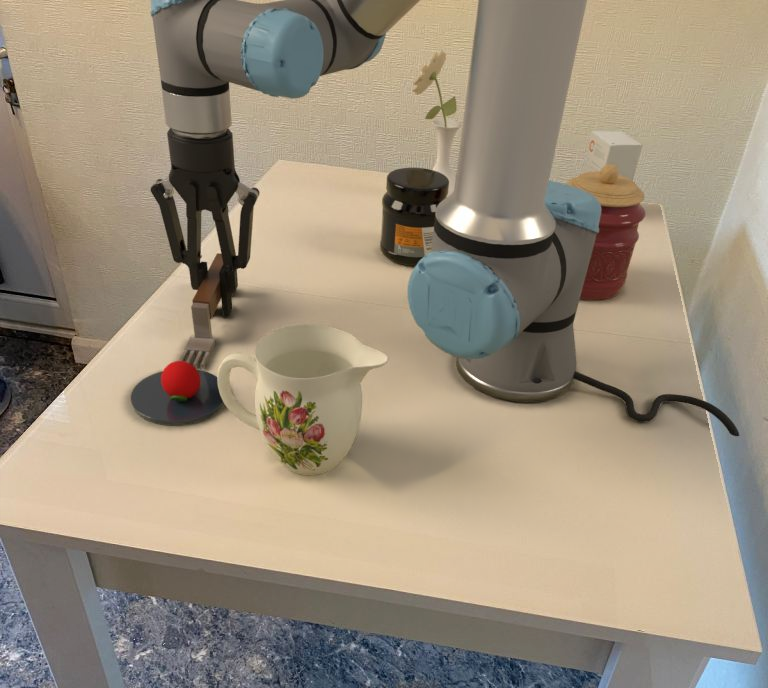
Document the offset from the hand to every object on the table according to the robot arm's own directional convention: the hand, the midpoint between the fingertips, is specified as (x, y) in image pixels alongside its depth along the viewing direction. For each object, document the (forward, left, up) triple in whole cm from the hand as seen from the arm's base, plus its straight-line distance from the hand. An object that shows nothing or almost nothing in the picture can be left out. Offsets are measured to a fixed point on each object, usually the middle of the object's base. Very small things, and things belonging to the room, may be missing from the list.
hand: (217, 311), depth 102 cm
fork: (-2, +3, 0) cm, 4 cm away
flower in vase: (-3, -55, 0) cm, 55 cm away
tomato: (-11, +17, +4) cm, 20 cm away
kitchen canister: (-37, -43, 0) cm, 57 cm away
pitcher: (-29, +17, 0) cm, 33 cm away
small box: (-28, -73, 0) cm, 78 cm away
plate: (-11, +18, 0) cm, 21 cm away
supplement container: (-11, -34, 0) cm, 36 cm away
